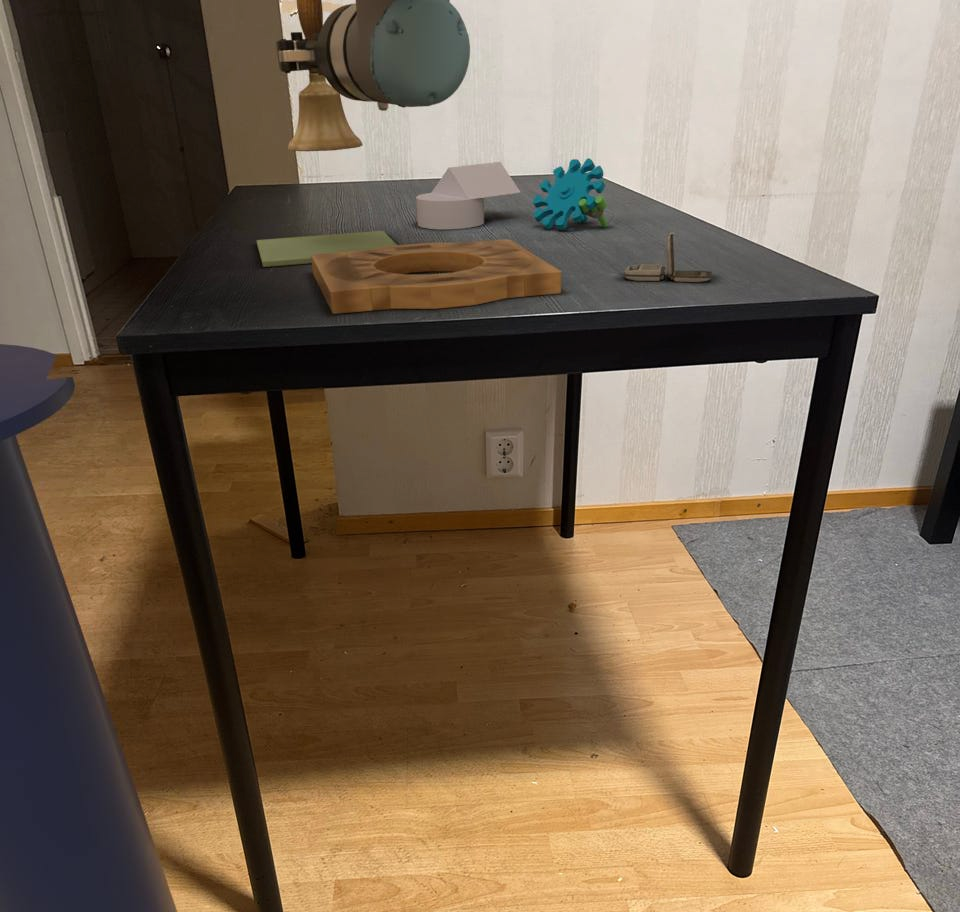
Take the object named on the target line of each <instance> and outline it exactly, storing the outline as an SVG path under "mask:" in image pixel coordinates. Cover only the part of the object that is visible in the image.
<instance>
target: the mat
mask: <svg viewBox="0 0 960 912" xmlns="http://www.w3.org/2000/svg"><path fill="white" fill-rule="evenodd" d="M395 245H398V244H397V243H396V242H395V241H394V240H393V239H392V238H391V237H390V236H389V235H388V234H387V233H386V232H385V231H384V230H375V231H361V232H347V233H346V232H345V233H334V234H319V235H307V236H294V237H293V236H292V237H281V238H267V239H257V240H256V246H257V249H258V250H257V251H258V253H259V258H260V261H261V264H262V267H263V268H269V267H271V268H272V267H283V266H292V265H293V266H294V265H306V264H307V265H308V264H312V261H311V255H313V254H325V253H338V252H351V251H362V250H368V249H374V248H380V247H387V246H395Z"/></svg>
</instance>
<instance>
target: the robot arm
mask: <svg viewBox="0 0 960 912" xmlns="http://www.w3.org/2000/svg"><path fill="white" fill-rule="evenodd" d="M303 36H304V35H303V31H294V32H293V31H291V32H290V39H287V38H280V39H279V40H276V41H275V45H276V51H277V52H276V53H277V59H278V67H279V71H280V72H281V73H282V72H283V73H284V74H291V72H301V71H309V70H311V69H316V70H317V73H318V75H324V76H325V79H326V82H327V83H328V85H330V86H331V87H333V88H334V89H335V90H336V91H337V92H338V93H339V94H340V96H342V97H344V98H346V99H349V100H351V101H358V102H365V103H367V102H368V103H369V102H370V103H371V102H372V103H376V104H377V109H378V110H379V111H381V112H382V111H384V112H385V111H388V109H389V105H394V106H398V107H400V108H419V107H430V106H431V107H432V106H435V105H438V104H441V103H443V102H445V101H446V100H448V99H449V98H450V97H451V96H453V95H454V94H455V93H456V92H457V90H458V89H459V88H460V86H461V85H462V83H463V81H464V79H465V78H466V75H467V72H468V69H469V64H470V59H471V58H470V57H471V44H470V37H469V36H470V35H469V33H468V30H467V27H466V24H465V22H464V20H463V18H462V15H461V14H460V12H459V11H458V10H457V8H456V7H455V6H454V5H453V3H451V1H450V0H355V2H354V3H349V4H345V5H342V6H340V7H338V8H336V9H335V10H334V11H332V12H331V13H330V14H329V15H328V16H327V18H326V19H325V21H323V26H322V29H321V31H320V33H317V34H314V35H313V40H308V39H305V38H304V37H303Z"/></svg>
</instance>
